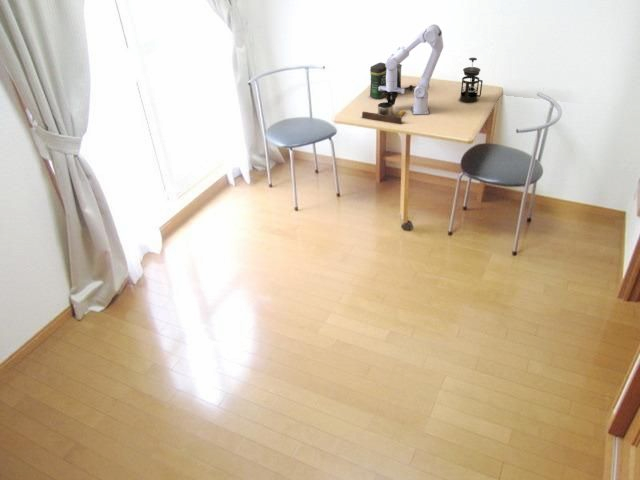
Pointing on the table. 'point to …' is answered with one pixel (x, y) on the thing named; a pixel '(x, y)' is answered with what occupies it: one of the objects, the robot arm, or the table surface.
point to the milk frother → (400, 78)
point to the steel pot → (385, 108)
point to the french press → (470, 91)
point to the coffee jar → (377, 80)
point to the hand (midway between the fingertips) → (391, 104)
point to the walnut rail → (382, 117)
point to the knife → (400, 113)
